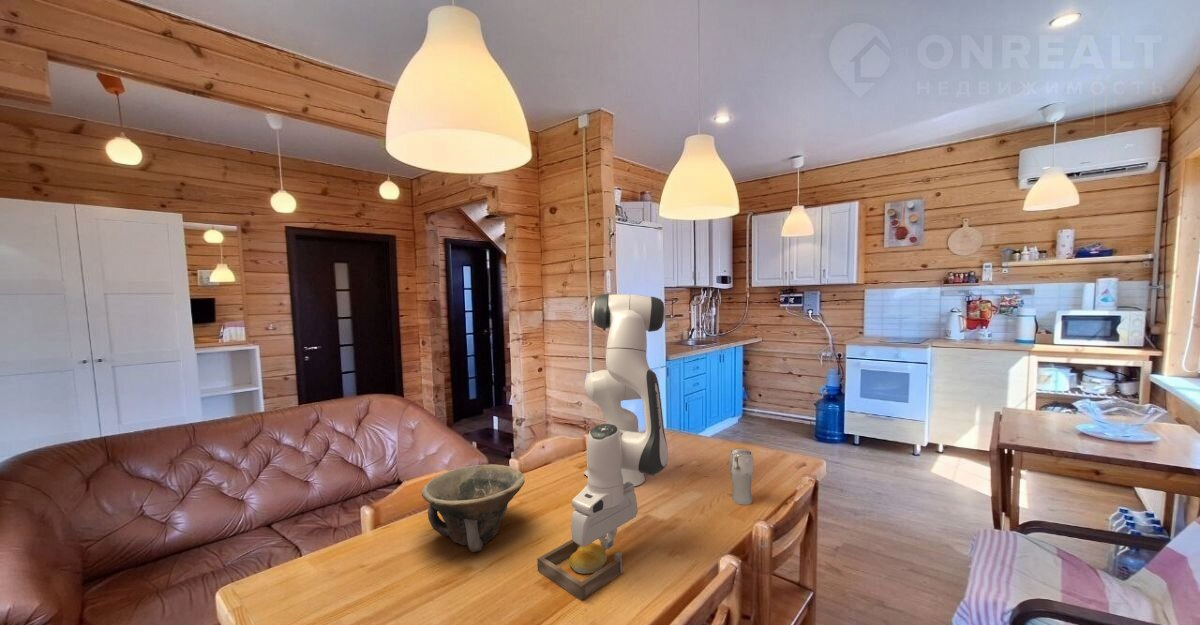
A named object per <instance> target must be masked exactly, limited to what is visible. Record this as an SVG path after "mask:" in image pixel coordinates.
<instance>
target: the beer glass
mask: <svg viewBox="0 0 1200 625" xmlns="http://www.w3.org/2000/svg"><path fill="white" fill-rule="evenodd" d="M729 471H730V472H729V473H730V478H731V483H732V495H731V500H732V502H734V503H736V504H738V505H741V506H742V505H745V506H747V505H751V504H752V503H753V502H754V500H753V495H752V485H753V484H752V482H753V477H754V476H753V475H754V457H753V452H752V450H749V449H745V448H733V449H731V450H730V451H729Z"/></svg>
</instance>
